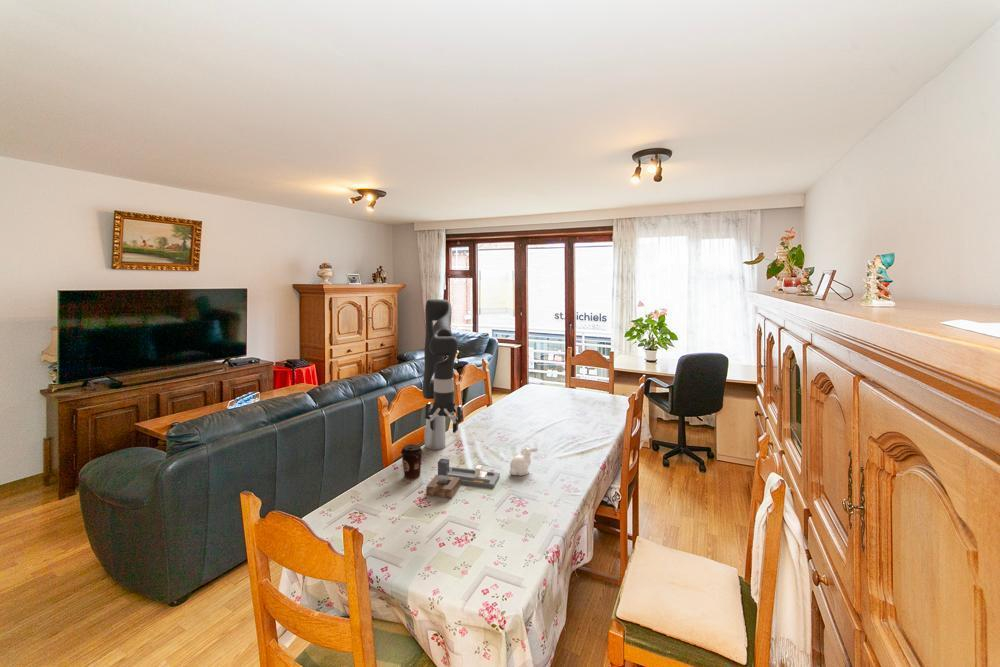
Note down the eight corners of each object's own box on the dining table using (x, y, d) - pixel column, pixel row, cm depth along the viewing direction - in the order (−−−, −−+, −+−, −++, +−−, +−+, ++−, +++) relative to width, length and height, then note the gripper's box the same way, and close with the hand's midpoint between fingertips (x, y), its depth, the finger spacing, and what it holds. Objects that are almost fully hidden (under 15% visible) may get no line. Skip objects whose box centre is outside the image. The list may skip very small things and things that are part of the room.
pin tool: (437, 492, 164) (437, 462, 162) (441, 487, 167) (440, 458, 166) (446, 493, 163) (446, 463, 162) (449, 488, 167) (449, 459, 165)
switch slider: (474, 478, 172) (474, 469, 171) (478, 473, 177) (478, 463, 176) (484, 479, 171) (484, 470, 171) (487, 474, 176) (487, 465, 175)
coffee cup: (403, 483, 172) (402, 452, 170) (399, 474, 179) (398, 444, 177) (424, 479, 175) (424, 449, 173) (420, 471, 183) (419, 441, 181)
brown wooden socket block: (426, 496, 162) (426, 486, 161) (436, 484, 171) (436, 474, 171) (451, 499, 159) (451, 489, 159) (460, 487, 169) (460, 477, 168)
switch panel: (440, 482, 173) (440, 475, 173) (449, 471, 183) (449, 464, 182) (493, 489, 168) (493, 481, 167) (499, 477, 177) (499, 470, 177)
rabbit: (522, 465, 190) (523, 439, 188) (539, 472, 183) (540, 445, 182) (504, 474, 181) (504, 447, 179) (521, 481, 174) (521, 453, 173)
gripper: (422, 390, 159) (422, 432, 161) (458, 393, 156) (458, 436, 158) (430, 385, 166) (430, 425, 168) (465, 388, 163) (465, 429, 165)
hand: (444, 430), depth 163 cm, fingers open, 8 cm apart
